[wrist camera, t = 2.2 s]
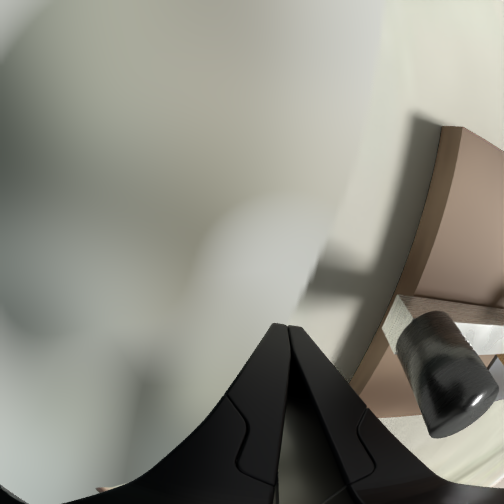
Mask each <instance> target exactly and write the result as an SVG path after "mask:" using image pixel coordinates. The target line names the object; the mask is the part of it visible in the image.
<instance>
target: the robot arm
mask: <svg viewBox="0 0 504 504" xmlns="http://www.w3.org/2000/svg"><path fill="white" fill-rule="evenodd" d="M0 504H28V503H26V502H25V501H23V500H22V499H20V498H19V497H17V496H16V495H14V494H13V493H11V492H10V491H8V490H7V489H5V488H4V487H3V486H2V485H0ZM63 504H504V488H490V487H480V486H472V485H464V484H458V483H453V482H450V481H447V480H445V479H443V478H441V477H439V476H438V475H436V474H435V473H434V472H432V471H431V470H430V469H429V468H428V467H427V466H426V465H424V464H423V463H422V462H421V461H420V460H419V459H418V458H417V457H416V456H415V455H414V454H413V453H411V452H410V451H409V450H408V449H407V448H406V447H405V446H404V445H403V444H402V443H401V442H400V441H399V440H398V439H397V438H396V437H395V436H394V435H393V434H392V433H391V432H390V431H389V430H388V429H387V428H386V427H385V426H384V425H383V424H382V422H381V421H380V420H379V419H378V418H377V417H376V416H375V414H374V413H373V412H372V411H371V410H370V408H367V405H366V404H365V403H364V401H363V400H362V399H361V398H360V397H359V395H358V394H357V393H356V392H355V391H354V389H353V388H352V387H351V386H350V385H349V383H348V382H347V381H346V380H345V379H344V377H343V376H342V375H341V374H340V373H339V371H338V370H337V369H336V368H335V367H334V365H333V364H332V363H331V362H330V361H329V359H328V358H327V357H326V356H325V355H324V353H323V352H322V351H321V350H320V348H319V347H318V346H317V345H316V344H315V342H314V341H313V340H312V339H311V338H310V336H309V335H308V334H307V333H306V331H305V330H304V329H303V328H302V327H298V326H291V325H289V326H286V325H284V324H278V323H273V324H272V325H271V326H270V328H269V329H268V331H267V332H266V334H265V336H264V337H263V338H262V340H261V341H260V343H259V345H258V346H257V347H256V349H255V351H254V352H253V353H252V355H251V356H250V358H249V359H248V361H247V362H246V364H245V365H244V367H243V368H242V370H241V371H240V372H239V374H238V375H237V377H236V379H235V380H234V381H233V383H232V384H231V385H230V387H229V388H228V390H227V391H226V392H225V394H224V396H222V398H221V399H220V400H219V402H218V403H217V405H216V406H215V407H214V408H213V410H212V411H211V412H210V413H209V415H208V416H207V417H206V418H205V420H204V421H203V422H202V423H201V424H200V425H199V426H198V427H197V428H196V429H195V430H194V431H193V432H192V433H191V434H190V435H189V436H188V437H187V438H186V439H185V440H183V442H181V443H180V444H179V445H178V446H177V447H176V448H175V449H173V450H172V451H171V452H170V453H169V454H168V455H167V456H166V457H164V458H163V459H162V460H161V461H160V462H159V463H158V464H156V465H155V466H154V467H153V468H152V469H150V470H149V471H148V472H146V473H145V474H143V475H142V476H140V477H138V478H137V479H135V480H134V481H131V482H129V483H127V484H125V485H122V486H119V487H116V488H113V489H111V490H108V491H105V492H102V493H98V494H96V495H92V496H89V497H85V498H82V499H78V500H74V501H71V502H67V503H63Z"/></svg>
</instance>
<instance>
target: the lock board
mask: <svg viewBox="0 0 504 504" xmlns="http://www.w3.org/2000/svg"><path fill="white" fill-rule="evenodd" d="M397 294H402V295H408V296H415V297H421V298H428V299H435V300H442V301H448V302H455V303H463V304H470V305H477V306H484V307H492V308H499V309H504V151H502V150H501V149H499V148H498V147H496V146H495V145H493V144H491V143H490V142H488V141H487V140H485V139H483V138H482V137H480V136H478V135H476V134H475V133H473V132H471V131H469V130H468V129H466V128H464V127H456V126H442V130H441V136H440V142H439V147H438V152H437V157H436V162H435V166H434V171H433V175H432V179H431V183H430V187H429V191H428V195H427V199H426V202H425V206H424V209H423V213H422V216H421V220H420V223H419V226H418V229H417V232H416V235H415V238H414V241H413V244H412V247H411V250H410V253H409V256H408V259H407V261H406V264H405V267H404V269H403V272H402V275H401V277H400V280H399V282H398V285H397V287H396V289H395V292H394V294H393V297H392V299H391V301H390V304H389V306H388V308H387V310H386V313H385V315H384V317H383V319H382V321H381V323H380V326H379V328H378V330H377V332H376V334H375V336H374V338H373V340H372V342H371V344H370V346H369V348H368V350H367V352H366V354H365V356H364V358H363V359H362V361H361V363H360V365H359V367H358V369H357V370H356V372H355V374H354V376H353V378H352V379H351V381H350V383H349V385H350V386H351V387H352V388H353V389H354V391H355V392H356V393H357V394H358V395H359V397H360V398H361V399H362V400H363V401H364V403H365V404H366V405H367V408H370V410H371V411H372V412H373V413H374V414H375V416H376V417H377V418H387V417H401V416H413V415H422V413H421V411H420V408H419V406H418V403H417V401H416V398H415V396H414V394H413V391H412V389H411V386H410V384H409V382H408V379H407V377H406V375H405V372H404V370H403V368H402V366H401V363H400V361H399V359H398V357H397V355H396V354H394V353H393V351H392V349H391V347H390V344H389V342H388V340H387V338H386V336H385V334H384V332H383V330H382V326H383V324H384V322H385V320H386V318H387V316H388V314H389V311H390V309H391V307H392V305H393V302H394V300H395V298H396V295H397ZM479 357H480V358H481V360H482V361H483V363H484V364H485V366H486V367H487V369H488V370H489V372H490V373H491V375H492V376H493V378H494V380H495V381H496V383H497V384H498V386H499V393H498V396H497V398H496V399H495V401H498V400H502V399H504V365H503V364H502V362H501V361H500V360H499V358H498V357H497V356H496V354H490V355H479Z"/></svg>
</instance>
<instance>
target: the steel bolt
mask: <svg viewBox="0 0 504 504" xmlns="http://www.w3.org/2000/svg"><path fill="white" fill-rule="evenodd" d="M382 330H383V332H384V334H385V336H386V338H387V340H388V342H389V344H390V347H391V349H392V351H393V353H394V354H396V355H397V357H398V359H399V361H400V363H401V366H402V368H403V370H404V372H405V375H406V377H407V379H408V382H409V384H410V386H411V389H412V391H413V394H414V396H415V398H416V401H417V403H418V406H419V408H420V411H421V413H422V416H423V419H424V421H425V424H426V426H427V429H428V432H429V435H430V436H431V437H432V438H444V437H447V436H450V435H453V434H455V433H457V432H459V431H461V430H463V429H464V428H466V427H468V426H469V425H471V424H472V423H473V422H475V421H476V420H477V419H478V418H480V417H481V416H482V415H483V414H484V413H485V412H486V411H487V410H488V409H489V408H490V406H491V405H492V404H493V402H494V401H495V399H496V398H497V396H498V393H499V386H498V384H497V383H496V381H495V380H494V378H493V376H492V375H491V373H490V372H489V370H488V369H487V367H486V366H485V364H484V363H483V361H482V360H481V358H480V357H479V355H490V354H504V309H499V308H492V307H484V306H477V305H470V304H463V303H455V302H448V301H442V300H435V299H428V298H421V297H415V296H408V295H402V294H397V295H396V298H395V300H394V302H393V305H392V307H391V309H390V311H389V314H388V316H387V318H386V320H385V322H384V324H383V326H382Z"/></svg>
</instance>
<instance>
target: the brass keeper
mask: <svg viewBox="0 0 504 504" xmlns="http://www.w3.org/2000/svg"><path fill="white" fill-rule="evenodd" d="M496 356H497V357H498V358H499V360H500V361H501V362H502V364H503V365H504V354H496Z"/></svg>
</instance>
